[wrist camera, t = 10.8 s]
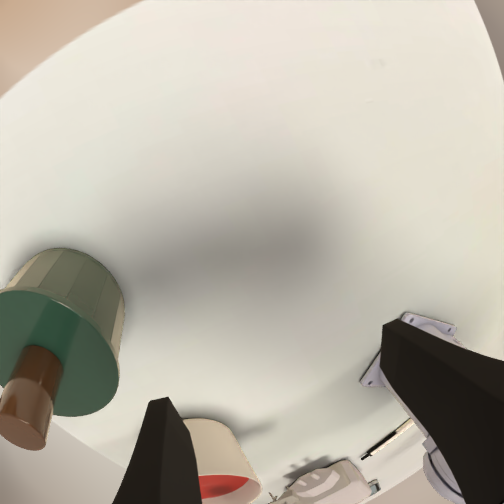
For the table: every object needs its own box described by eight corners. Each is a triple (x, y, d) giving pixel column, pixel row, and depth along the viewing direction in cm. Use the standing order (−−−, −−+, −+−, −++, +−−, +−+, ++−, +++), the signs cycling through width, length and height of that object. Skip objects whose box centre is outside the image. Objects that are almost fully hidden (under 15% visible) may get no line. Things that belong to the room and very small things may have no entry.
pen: (361, 457, 34) (358, 456, 34) (469, 364, 33) (468, 360, 32) (364, 462, 34) (360, 460, 33) (473, 367, 32) (472, 364, 32)
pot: (137, 268, 18) (128, 321, 13) (113, 361, 20) (106, 421, 15) (24, 232, 15) (-18, 271, 10) (17, 330, 17) (-9, 382, 12)
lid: (135, 308, 13) (126, 402, 8) (110, 416, 15) (106, 495, 10) (-18, 256, 10) (-81, 321, 6) (-11, 376, 13) (-40, 445, 8)
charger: (333, 441, 30) (360, 471, 37) (262, 477, 30) (307, 499, 37) (350, 473, 26) (374, 494, 33) (274, 509, 26) (317, 522, 33)
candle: (178, 470, 26) (186, 522, 20) (122, 428, 22) (122, 491, 16) (258, 442, 26) (278, 495, 21) (215, 393, 23) (232, 461, 17)
